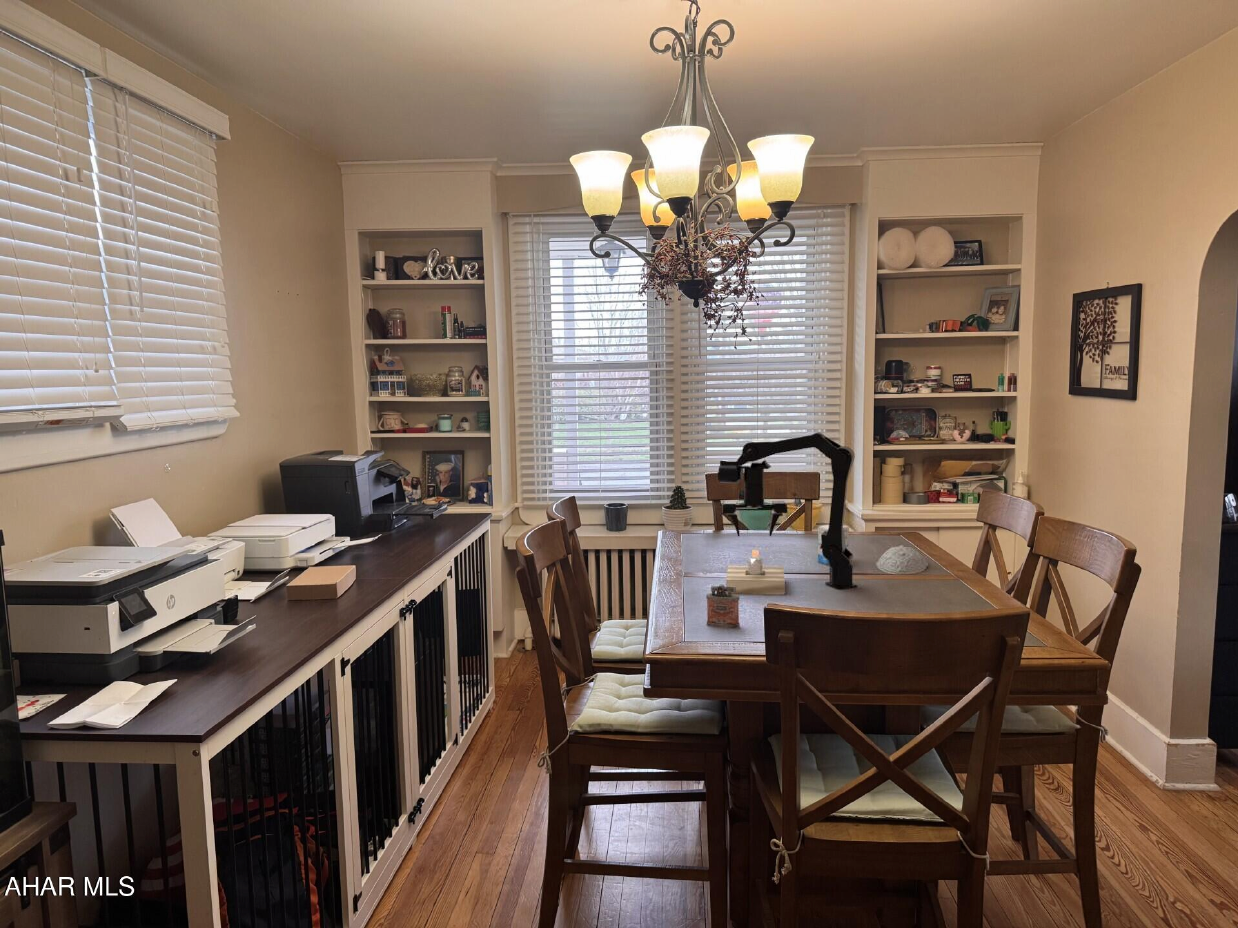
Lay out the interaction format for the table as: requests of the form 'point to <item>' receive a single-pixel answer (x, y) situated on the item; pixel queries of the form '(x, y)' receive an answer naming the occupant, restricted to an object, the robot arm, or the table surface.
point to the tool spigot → (755, 566)
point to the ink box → (820, 531)
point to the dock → (756, 580)
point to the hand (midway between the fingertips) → (754, 536)
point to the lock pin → (755, 553)
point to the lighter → (723, 607)
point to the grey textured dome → (902, 561)
